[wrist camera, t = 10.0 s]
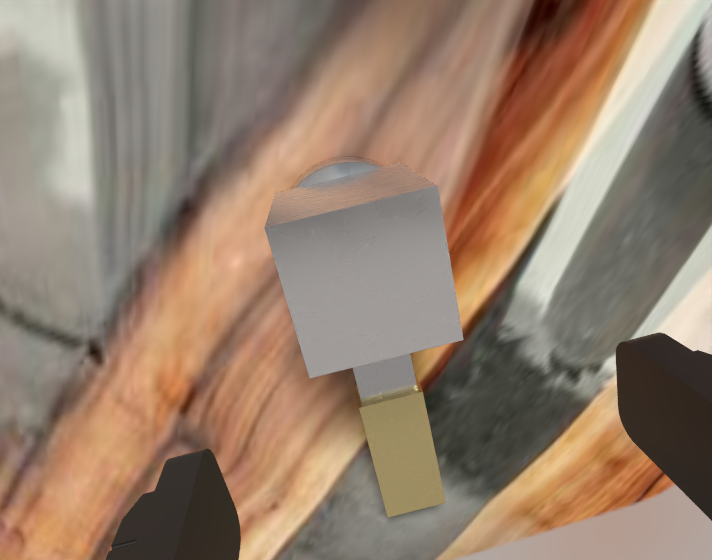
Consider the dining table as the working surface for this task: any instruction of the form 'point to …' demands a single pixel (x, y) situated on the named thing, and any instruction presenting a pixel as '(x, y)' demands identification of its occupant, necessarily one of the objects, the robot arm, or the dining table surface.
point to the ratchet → (391, 402)
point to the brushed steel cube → (364, 267)
